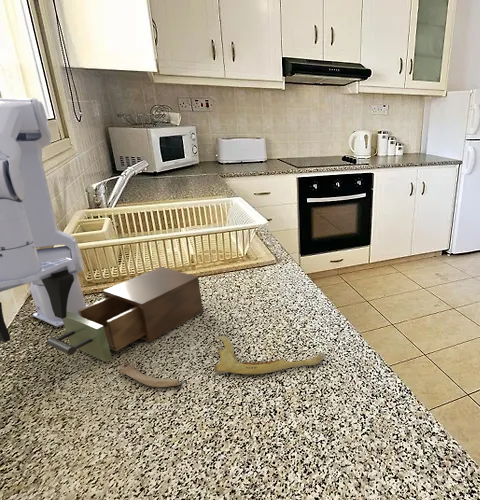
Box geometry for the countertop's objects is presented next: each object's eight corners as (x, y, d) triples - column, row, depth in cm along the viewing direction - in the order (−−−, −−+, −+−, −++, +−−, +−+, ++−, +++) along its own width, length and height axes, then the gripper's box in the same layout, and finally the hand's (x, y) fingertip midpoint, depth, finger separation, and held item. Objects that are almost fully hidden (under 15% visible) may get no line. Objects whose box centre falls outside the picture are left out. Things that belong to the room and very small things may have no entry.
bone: (171, 394, 60) (169, 383, 59) (117, 377, 63) (114, 367, 63) (182, 383, 62) (181, 373, 62) (129, 368, 66) (127, 358, 65)
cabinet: (149, 342, 73) (141, 304, 70) (111, 327, 77) (102, 290, 74) (203, 311, 84) (198, 276, 81) (167, 299, 89) (161, 266, 86)
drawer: (81, 376, 62) (71, 341, 60) (45, 357, 66) (34, 325, 64) (165, 327, 76) (160, 297, 74) (131, 314, 80) (125, 286, 78)
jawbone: (195, 374, 65) (193, 367, 65) (219, 341, 73) (218, 335, 72) (312, 394, 62) (312, 387, 61) (325, 358, 69) (325, 351, 69)
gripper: (-46, 265, 46) (-12, 359, 50) (77, 235, 59) (97, 312, 63) (-71, 257, 49) (-36, 346, 53) (52, 230, 61) (72, 304, 66)
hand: (34, 327), depth 58 cm, fingers open, 7 cm apart
